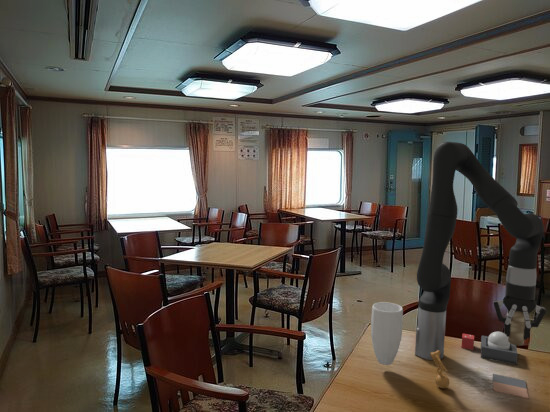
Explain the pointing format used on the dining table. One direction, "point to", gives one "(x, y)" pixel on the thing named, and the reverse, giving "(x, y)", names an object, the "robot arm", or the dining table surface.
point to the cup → (386, 331)
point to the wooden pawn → (517, 329)
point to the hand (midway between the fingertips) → (516, 337)
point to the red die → (467, 341)
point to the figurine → (441, 379)
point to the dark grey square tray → (498, 352)
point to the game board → (510, 386)
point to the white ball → (498, 340)
